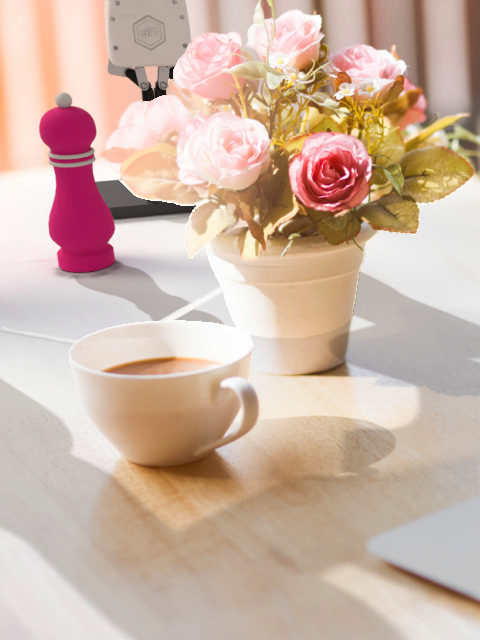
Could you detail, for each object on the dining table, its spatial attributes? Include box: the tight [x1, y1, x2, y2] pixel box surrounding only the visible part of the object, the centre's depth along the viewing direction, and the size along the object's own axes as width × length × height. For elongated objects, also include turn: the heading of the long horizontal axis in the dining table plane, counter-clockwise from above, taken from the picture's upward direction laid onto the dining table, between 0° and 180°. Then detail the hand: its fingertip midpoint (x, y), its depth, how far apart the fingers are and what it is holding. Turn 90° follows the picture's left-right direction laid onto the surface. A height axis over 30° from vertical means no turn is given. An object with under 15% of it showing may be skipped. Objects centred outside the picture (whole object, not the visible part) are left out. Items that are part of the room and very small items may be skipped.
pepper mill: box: [38, 91, 116, 273], centre depth 134 cm, size 7×7×20 cm
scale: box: [95, 179, 196, 221], centre depth 160 cm, size 16×14×4 cm
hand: (156, 119), depth 153 cm, fingers closed
